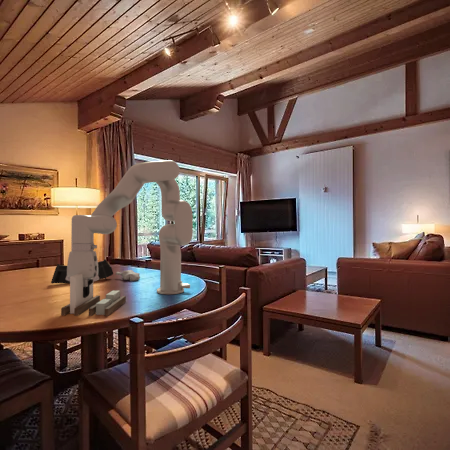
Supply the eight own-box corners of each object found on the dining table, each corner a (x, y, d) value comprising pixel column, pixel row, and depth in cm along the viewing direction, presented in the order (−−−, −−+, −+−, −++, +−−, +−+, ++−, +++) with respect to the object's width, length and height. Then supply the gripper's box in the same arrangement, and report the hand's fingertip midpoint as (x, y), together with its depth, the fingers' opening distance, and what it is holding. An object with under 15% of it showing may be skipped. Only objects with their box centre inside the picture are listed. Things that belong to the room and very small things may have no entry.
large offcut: (120, 302, 120) (120, 290, 120) (113, 308, 113) (113, 294, 113) (112, 302, 120) (112, 290, 120) (105, 307, 113) (105, 294, 113)
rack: (125, 302, 121) (125, 295, 121) (108, 316, 103) (108, 308, 103) (85, 301, 122) (85, 295, 121) (61, 315, 103) (61, 308, 103)
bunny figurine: (129, 275, 160) (114, 268, 169) (129, 284, 160) (113, 277, 169) (144, 272, 167) (128, 267, 176) (143, 281, 168) (127, 275, 177)
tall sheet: (93, 302, 120) (93, 270, 119) (75, 313, 106) (75, 276, 105) (88, 302, 120) (88, 270, 119) (69, 313, 106) (70, 276, 105)
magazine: (46, 268, 147) (106, 248, 166) (45, 267, 150) (103, 247, 169) (57, 300, 151) (114, 276, 170) (56, 298, 153) (112, 275, 172)
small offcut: (110, 309, 111) (111, 299, 111) (104, 315, 105) (104, 303, 105) (102, 309, 111) (102, 299, 111) (95, 314, 105) (96, 303, 105)
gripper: (107, 247, 116) (107, 294, 116) (66, 246, 116) (66, 294, 116) (99, 249, 108) (99, 299, 109) (55, 248, 109) (55, 299, 109)
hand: (82, 296), depth 112 cm, fingers closed on tall sheet, 2 cm apart
